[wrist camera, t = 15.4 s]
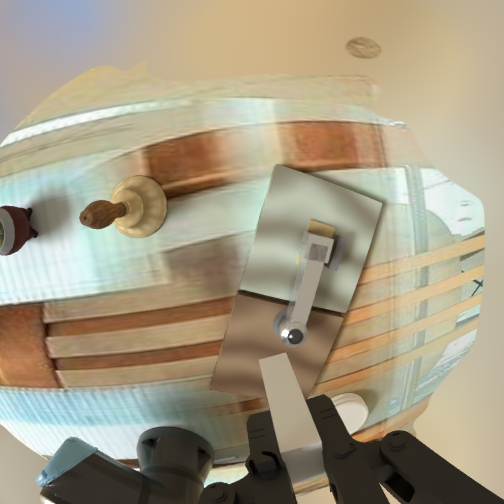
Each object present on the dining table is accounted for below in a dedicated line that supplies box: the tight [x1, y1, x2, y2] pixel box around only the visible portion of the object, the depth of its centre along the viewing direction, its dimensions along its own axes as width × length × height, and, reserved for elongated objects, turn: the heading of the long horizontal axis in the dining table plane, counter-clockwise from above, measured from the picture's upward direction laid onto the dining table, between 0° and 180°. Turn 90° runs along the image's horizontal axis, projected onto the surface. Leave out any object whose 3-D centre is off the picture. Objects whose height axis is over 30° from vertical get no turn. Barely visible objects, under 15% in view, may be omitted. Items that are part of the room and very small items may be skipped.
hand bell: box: [79, 176, 167, 238], centre depth 28 cm, size 8×8×16 cm
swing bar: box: [277, 231, 334, 347], centre depth 36 cm, size 15×4×4 cm, turn 167°
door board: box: [210, 164, 382, 400], centre depth 38 cm, size 34×16×4 cm, turn 164°
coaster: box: [331, 393, 369, 435], centre depth 44 cm, size 10×10×4 cm
